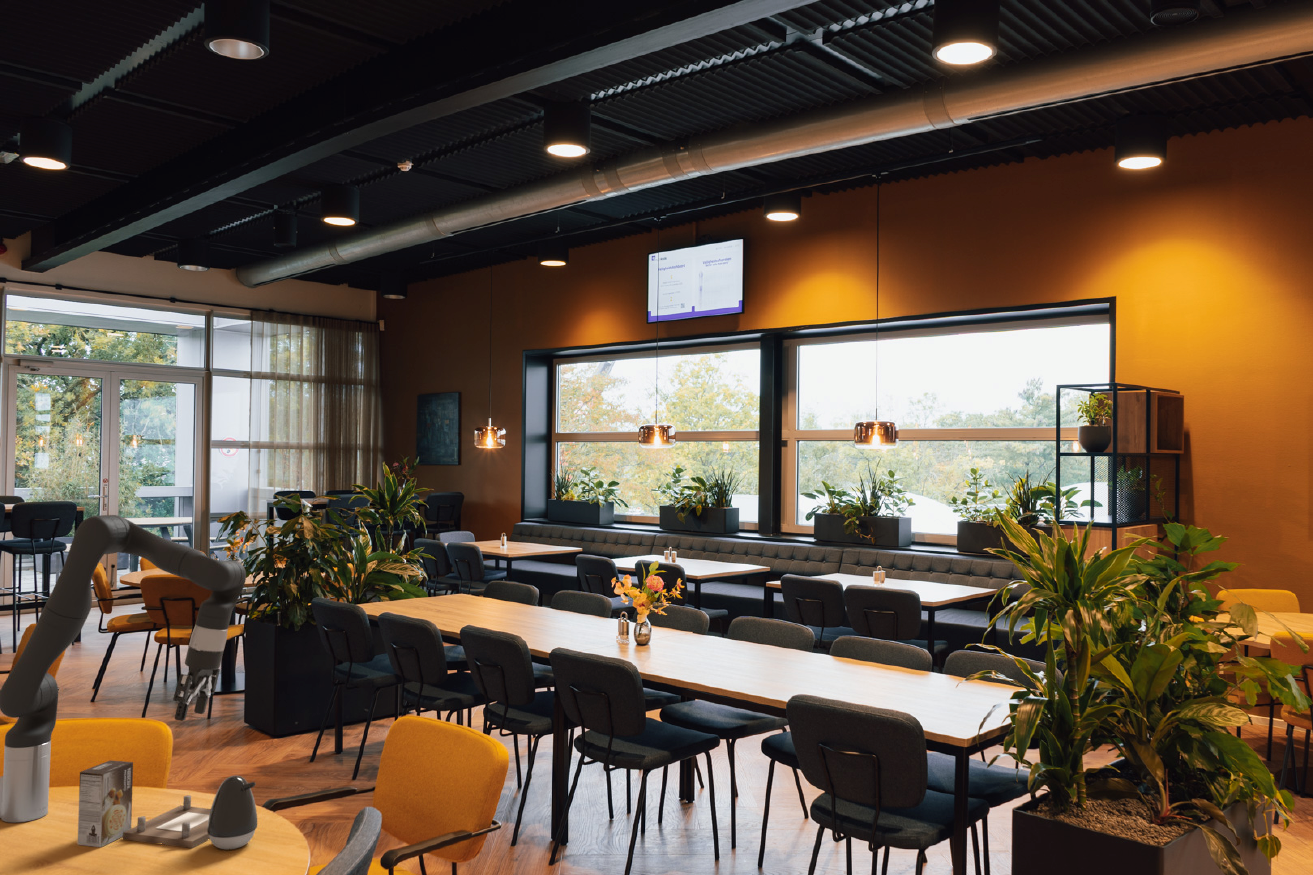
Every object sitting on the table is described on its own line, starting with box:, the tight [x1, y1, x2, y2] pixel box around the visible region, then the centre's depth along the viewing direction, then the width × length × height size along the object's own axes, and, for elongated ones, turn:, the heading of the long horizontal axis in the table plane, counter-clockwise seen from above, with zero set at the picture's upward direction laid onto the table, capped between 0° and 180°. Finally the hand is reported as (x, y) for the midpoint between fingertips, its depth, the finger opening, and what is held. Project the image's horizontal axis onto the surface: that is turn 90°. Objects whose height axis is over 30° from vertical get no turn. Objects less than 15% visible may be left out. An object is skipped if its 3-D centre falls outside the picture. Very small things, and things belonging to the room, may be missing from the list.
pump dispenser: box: [207, 775, 258, 851], centre depth 214 cm, size 10×10×15 cm
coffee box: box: [77, 759, 134, 848], centre depth 216 cm, size 9×6×16 cm
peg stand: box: [122, 794, 211, 849], centre depth 222 cm, size 18×18×4 cm
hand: (189, 716), depth 221 cm, fingers open, 8 cm apart
